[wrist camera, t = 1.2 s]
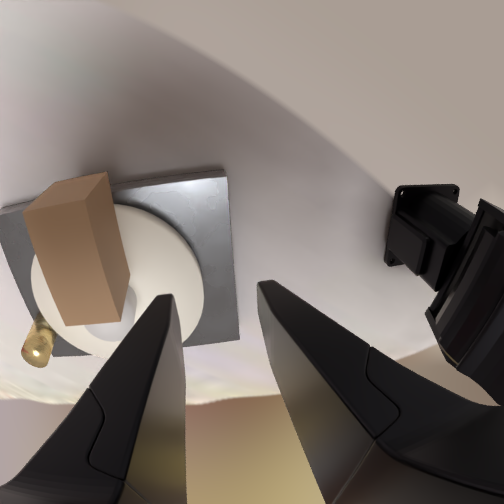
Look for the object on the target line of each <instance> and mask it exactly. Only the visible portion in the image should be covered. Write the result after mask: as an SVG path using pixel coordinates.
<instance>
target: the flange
mask: <svg viewBox="0 0 504 504" xmlns="http://www.w3.org/2000/svg"><path fill="white" fill-rule="evenodd" d="M22 213H23V216H24V220H25V223H26V226H27V230H28V233H29V236H30V239H31V242H32V245H33V248H34V251H35V256H34V259H33V263H32V268H31V284H32V290H33V294H34V298H35V301H36V303H37V306H38V308H39V310H40V312H41V313H42V315H43V317H44V318H45V320H46V321H47V322H48V324H49V325H50V326H51V327H52V328H53V329H54V330H55V331H56V332H57V333H58V334H59V335H60V336H61V337H62V338H63V339H65V340H66V341H67V342H69V343H70V344H72V345H73V346H75V347H77V348H78V349H80V350H82V351H85V352H87V353H89V354H92V355H94V356H97V357H101V358H105V359H109V358H110V356H111V355H112V353H113V352H114V351H115V349H116V348H117V347H118V345H119V344H120V343H121V341H122V340H123V339H124V337H125V336H126V335H127V333H128V332H129V331H130V329H131V328H132V327H133V325H134V324H135V323H136V321H137V320H138V319H139V318H140V316H141V315H142V314H143V312H144V311H145V310H146V308H147V307H148V306H149V305H150V303H151V302H152V301H153V299H154V298H155V297H156V296H157V295H161V294H169V293H172V294H173V295H174V298H175V302H176V306H177V311H178V315H179V320H180V326H181V337H182V343H183V342H184V341H185V340H186V339H187V338H188V337H189V336H190V335H191V333H192V332H193V331H194V329H195V327H196V326H197V324H198V322H199V319H200V317H201V314H202V310H203V303H204V292H203V282H202V275H201V270H200V266H199V264H198V261H197V258H196V256H195V254H194V253H193V251H192V249H191V247H190V246H189V245H188V243H187V242H186V241H185V239H184V238H183V237H182V236H181V235H180V234H179V233H178V232H177V231H176V230H175V229H174V228H173V227H171V226H170V225H169V224H168V223H166V222H165V221H163V220H162V219H160V218H158V217H157V216H155V215H153V214H151V213H148V212H146V211H144V210H141V209H138V208H134V207H131V206H126V205H120V204H114V203H113V199H112V194H111V188H110V183H109V178H108V172H102V173H97V174H92V175H87V176H82V177H77V178H72V179H67V180H62V181H58V182H55V183H53V184H52V185H51V186H50V187H49V188H48V189H47V190H45V191H44V192H43V193H42V194H41V195H40V196H39V197H38V198H37V199H36V200H35V201H33V202H32V203H31V204H30V205H29V206H28V207H27V208H26V209H25V210H24V211H23V212H22Z"/></svg>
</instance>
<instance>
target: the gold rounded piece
mask: <svg viewBox="0 0 504 504" xmlns="http://www.w3.org/2000/svg"><path fill="white" fill-rule="evenodd" d="M57 335H58V333H57V332H56V331H55V330H54V329H53V328H52V327H51V326H50V325H49V324H48V322H47V321H46V320H45V318H44V317H43V315H42V313H41V312H40V313H38V314H37V316H36V318H35V320H34V322H33V325H32V327H31V329H30V331H29V333H28V336H27V338H26V340H25V343H24V345H23V347H22V350H21V354H22V357H23V358H24V360H25V361H26V362H28V363H29V364H30V365H32V366H35V367H38V368H43V367H45V366H47V364H48V361H49V358H50V355H51V352H52V349H53V346H54V343H55V340H56V337H57Z"/></svg>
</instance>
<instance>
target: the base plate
mask: <svg viewBox="0 0 504 504" xmlns="http://www.w3.org/2000/svg"><path fill="white" fill-rule="evenodd" d="M110 188H111V194H112V199H113V203H114V204H120V205H126V206H131V207H134V208H138V209H141V210H144V211H146V212H148V213H151V214H153V215H155V216H157V217H158V218H160V219H162V220H163V221H165V222H166V223H168V224H169V225H170V226H171V227H173V228H174V229H175V230H176V231H177V232H178V233H179V234H180V235H181V236H182V237H183V238H184V239H185V241H186V242H187V243H188V245H189V246H190V247H191V249H192V251H193V253H194V254H195V256H196V258H197V261H198V264H199V266H200V270H201V275H202V282H203V292H204V303H203V310H202V314H201V317H200V319H199V322H198V324H197V326H196V327H195V329H194V331H193V332H192V333H191V335H190V336H189V337H188V338H187V339H186V340H185V341H184V342H183V343H182V347H189V346H197V345H205V344H212V343H220V342H227V341H234V340H240V336H239V324H238V313H237V301H236V289H235V277H234V265H233V252H232V239H231V226H230V213H229V199H228V185H227V176H226V173H225V171H224V170H215V171H206V172H197V173H189V174H181V175H173V176H166V177H159V178H152V179H145V180H138V181H132V182H126V183H119V184H113V185H110ZM33 201H35V200H33ZM33 201H28V202H24V203H20V204H16V205H12V206H8V207H4V208H2V209H0V243H1V246H2V248H3V251H4V254H5V256H6V259H7V262H8V264H9V267H10V269H11V272H12V274H13V276H14V279H15V281H16V284H17V286H18V288H19V290H20V293H21V295H22V297H23V299H24V301H25V304H26V306H27V308H28V310H29V312H30V314H31V316H32V318H33V320H35V318H36V316H37V314H38V313H40V310H39V308H38V306H37V303H36V301H35V298H34V294H33V290H32V284H31V268H32V263H33V259H34V256H35V251H34V248H33V245H32V242H31V239H30V236H29V233H28V230H27V226H26V223H25V220H24V216H23V213H22V212H23V211H24V210H25V209H26V208H27V207H28V206H29V205H30V204H31V203H32V202H33ZM51 353H52V355H53V357H61V356H84V355H92V354H89V353H87V352H85V351H82V350H80V349H78V348H77V347H75V346H73V345H72V344H70V343H69V342H67V341H66V340H65V339H63V338H62V337H61V336H60V335H59V334H58V335H57V337H56V340H55V343H54V346H53V349H52V352H51Z"/></svg>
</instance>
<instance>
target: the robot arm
mask: <svg viewBox="0 0 504 504" xmlns="http://www.w3.org/2000/svg"><path fill="white" fill-rule="evenodd" d="M459 190H460V189H459V187H458V186H456V185H455V184H433V185H402V186H399V187H397V189H396V190H395V196H394V203H393V211H392V217H391V222H390V228H389V235H388V241H387V248H386V254H385V259H384V262H385V263H386V264H387V265H388V266H389V267H392V266H397V265H403V264H405V265H406V266H407V267H408V268H409V269H410V270H411V271H412V272H413V273H414V274H415V275H416V276H420V277H421V278H422V279H423V280H424V281H425V282H426V283H427V284H428V285H429V286H430V287H431V288H432V289H433V290H434V291H435V292H437V291H439V292H438V293H437V295H436V297H435V299H434V301H433V302H432V304H431V306H430V307H428V309H427V310H426V312H425V316H426V318H427V320H428V322H429V324H430V327H431V329H432V331H433V333H434V335H435V338H436V340H437V342H438V344H439V347H440V349H441V351H442V353H443V355H444V357H445V359H446V361H447V362H448V363H450V364H451V365H452V366H453V367H455V368H456V369H457V371H459V372H461V373H462V374H464V375H466V376H468V377H470V378H471V379H472V380H474V381H475V382H476V383H478V384H479V385H480V386H481V387H482V388H483V389H484V390H485V391H486V392H487V393H488V394H489V395H490V396H491V397H492V398H493V400H494V401H495V402H496V403H497V404H499V405H501V406H487V405H482V404H478V403H475V402H472V401H470V400H467V399H465V398H463V397H461V396H459V395H457V394H455V393H453V392H451V391H449V390H447V389H445V388H443V387H441V386H440V385H437V384H436V383H434V382H432V381H430V380H428V379H426V378H424V377H422V376H420V375H418V374H416V373H415V372H413V371H411V370H409V369H408V368H406V367H404V366H402V365H401V364H399V363H397V362H396V361H394V360H393V359H391V358H389V357H388V356H386V355H385V354H383V353H382V352H380V351H379V350H377V349H376V348H374V347H370V345H369V344H368V343H366V342H365V341H363V340H362V339H360V338H359V337H357V336H356V335H354V334H353V333H351V332H350V331H349V330H347V329H346V328H344V327H343V326H341V325H340V324H338V323H337V322H335V321H334V320H332V319H331V318H329V317H328V316H326V315H325V314H323V313H322V312H320V311H319V310H317V309H316V308H314V307H313V306H311V305H310V304H309V303H307V302H306V301H304V300H303V299H301V298H300V297H298V296H297V295H295V294H294V293H292V292H291V291H289V290H288V289H286V288H285V287H284V286H282V285H281V284H279V283H278V282H276V281H275V280H267V281H260V282H258V284H257V304H258V315H259V319H260V324H261V328H262V332H263V336H264V341H265V345H266V349H267V354H268V358H269V361H270V365H271V368H272V371H273V374H274V377H275V379H276V382H277V384H278V387H279V389H280V392H281V395H282V397H283V399H284V402H285V404H286V407H287V410H288V412H289V415H290V417H291V420H292V422H293V425H294V427H295V430H296V432H297V435H298V437H299V440H300V442H301V445H302V447H303V450H304V452H305V454H306V457H307V459H308V462H309V464H310V467H311V469H312V472H313V474H314V477H315V479H316V481H317V484H318V486H319V489H320V491H321V494H322V496H323V498H324V501H325V503H326V504H504V210H503V209H501V208H499V207H497V206H495V205H493V204H491V203H489V202H487V201H485V200H483V199H480V201H479V204H478V210H477V212H476V214H473V213H472V212H470V211H469V210H467V209H465V208H464V207H462V206H461V205H459V204H458V203H457V202H458V197H459ZM402 191H403V194H402V195H401V192H402ZM453 191H454V192H453ZM391 259H392V260H391ZM390 260H391V261H390ZM185 395H186V379H185V367H184V357H183V347H182V337H181V326H180V320H179V315H178V311H177V306H176V302H175V298H174V295H173V294H172V293H169V294H161V295H157V296H156V297H155V298H154V299H153V301H152V302H151V303H150V305H149V306H148V307H147V308H146V310H145V311H144V312H143V314H142V315H141V316H140V318H139V319H138V320H137V321H136V323H135V324H134V325H133V327H132V328H131V329H130V331H129V332H128V333H127V335H126V336H125V337H124V339H123V340H122V341H121V343H120V344H119V345H118V347H117V348H116V349H115V351H114V352H113V353H112V355H111V356H110V358H109V359H108V360H107V362H106V363H105V364H104V366H103V367H102V368H101V370H100V371H99V373H98V374H97V375H96V377H95V378H94V380H93V381H92V382H91V384H90V385H89V388H87V389H86V391H85V392H84V393H83V395H82V396H81V398H80V399H79V400H78V402H77V403H76V404H75V406H74V407H73V408H72V410H71V411H70V413H69V414H68V415H67V417H66V418H65V419H64V420H63V421H62V423H61V424H60V425H59V426H58V427H57V429H56V430H55V431H54V432H53V434H52V435H51V436H50V437H49V438H48V439H47V440H46V442H45V443H44V444H43V445H42V446H41V447H40V449H39V450H38V451H37V452H36V453H35V455H34V456H33V457H32V458H31V459H30V460H29V462H28V463H27V464H26V465H25V466H24V468H23V469H22V470H21V471H20V472H19V473H18V474H17V475H16V476H15V477H14V478H13V479H12V480H10V481H9V482H7V483H6V484H4V485H2V486H0V504H187V494H186V456H185V455H186V454H185Z"/></svg>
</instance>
